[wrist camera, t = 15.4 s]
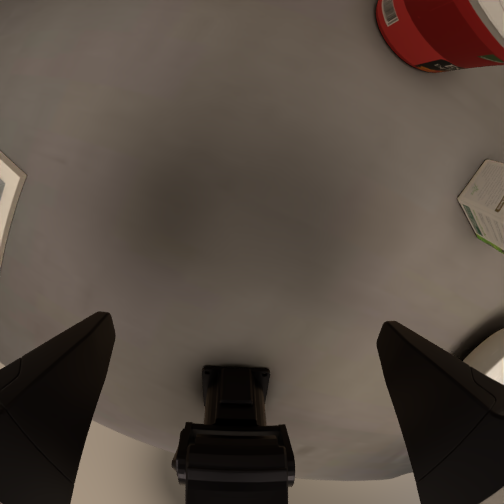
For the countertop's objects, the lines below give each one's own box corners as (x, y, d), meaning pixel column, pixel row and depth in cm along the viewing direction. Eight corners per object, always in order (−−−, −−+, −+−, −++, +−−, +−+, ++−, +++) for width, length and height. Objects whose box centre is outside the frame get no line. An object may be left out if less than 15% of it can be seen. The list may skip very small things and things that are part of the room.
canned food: (417, 89, 17) (524, 83, 7) (352, 8, 15) (429, -56, 4) (463, 53, 15) (555, 42, 5) (407, -20, 13) (484, -65, 3)
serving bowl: (423, 427, 36) (437, 456, 30) (412, 365, 29) (436, 406, 22) (513, 363, 33) (531, 386, 26) (527, 278, 25) (558, 303, 19)
